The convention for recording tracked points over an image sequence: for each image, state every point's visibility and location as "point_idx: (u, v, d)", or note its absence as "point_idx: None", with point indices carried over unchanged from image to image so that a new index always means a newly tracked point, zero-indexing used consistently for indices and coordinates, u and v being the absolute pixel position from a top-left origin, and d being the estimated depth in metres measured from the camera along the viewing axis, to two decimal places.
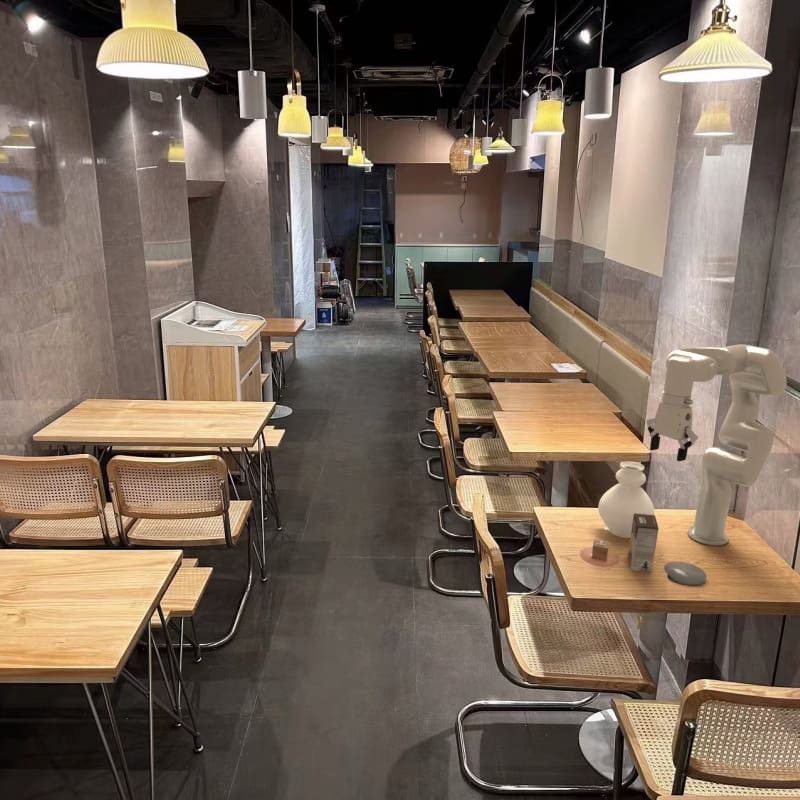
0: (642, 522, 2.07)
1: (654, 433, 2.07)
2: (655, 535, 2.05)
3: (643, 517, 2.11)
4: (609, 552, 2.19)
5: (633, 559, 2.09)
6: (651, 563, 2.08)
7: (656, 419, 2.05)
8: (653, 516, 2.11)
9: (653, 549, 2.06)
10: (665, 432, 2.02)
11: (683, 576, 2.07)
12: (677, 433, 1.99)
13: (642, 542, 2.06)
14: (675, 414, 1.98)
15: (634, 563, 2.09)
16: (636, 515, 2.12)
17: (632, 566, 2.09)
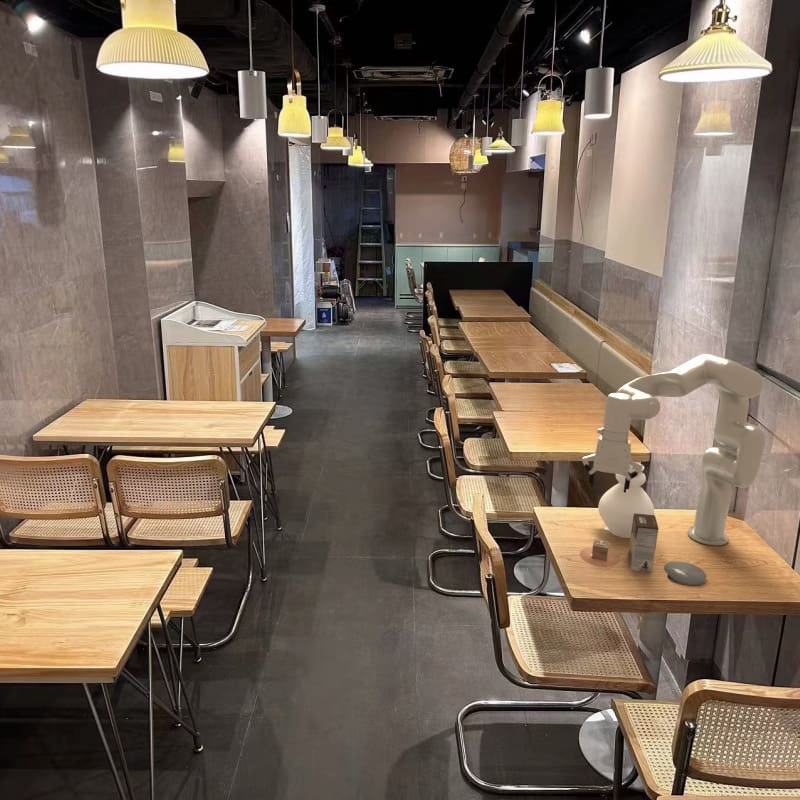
0: (642, 522, 2.07)
1: None
2: (655, 535, 2.05)
3: (643, 517, 2.11)
4: (609, 552, 2.19)
5: (633, 559, 2.09)
6: (651, 563, 2.08)
7: None
8: (653, 516, 2.11)
9: (653, 549, 2.06)
10: None
11: (683, 576, 2.07)
12: None
13: (642, 542, 2.06)
14: None
15: (634, 563, 2.09)
16: (636, 515, 2.12)
17: (632, 566, 2.09)
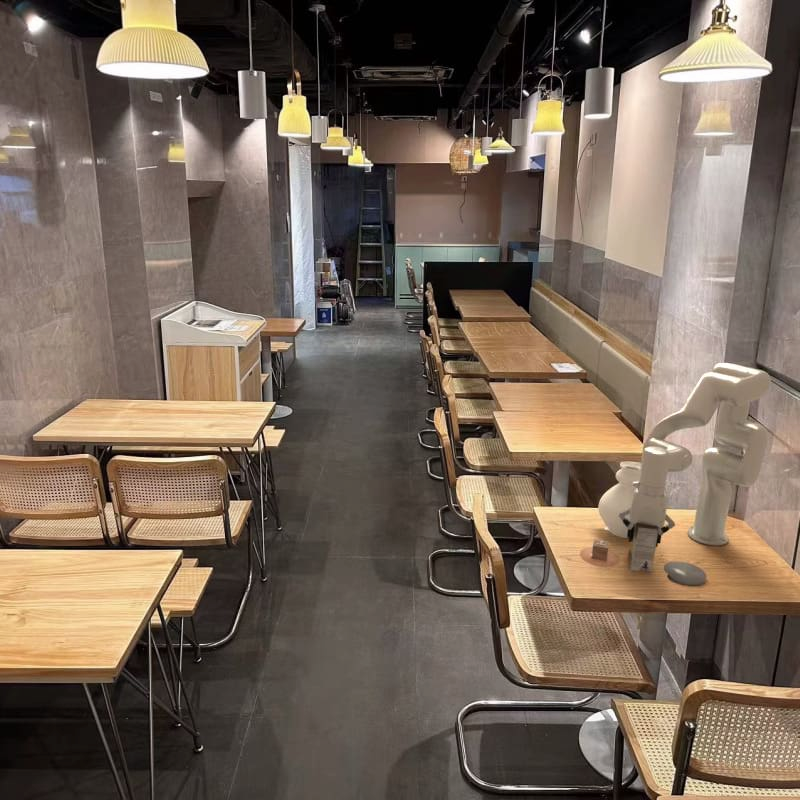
0: None
1: None
2: (655, 535, 2.05)
3: None
4: (609, 552, 2.19)
5: (633, 559, 2.09)
6: (651, 563, 2.08)
7: None
8: None
9: (653, 549, 2.06)
10: None
11: (683, 576, 2.07)
12: None
13: (642, 542, 2.06)
14: None
15: (634, 563, 2.09)
16: None
17: (632, 566, 2.09)
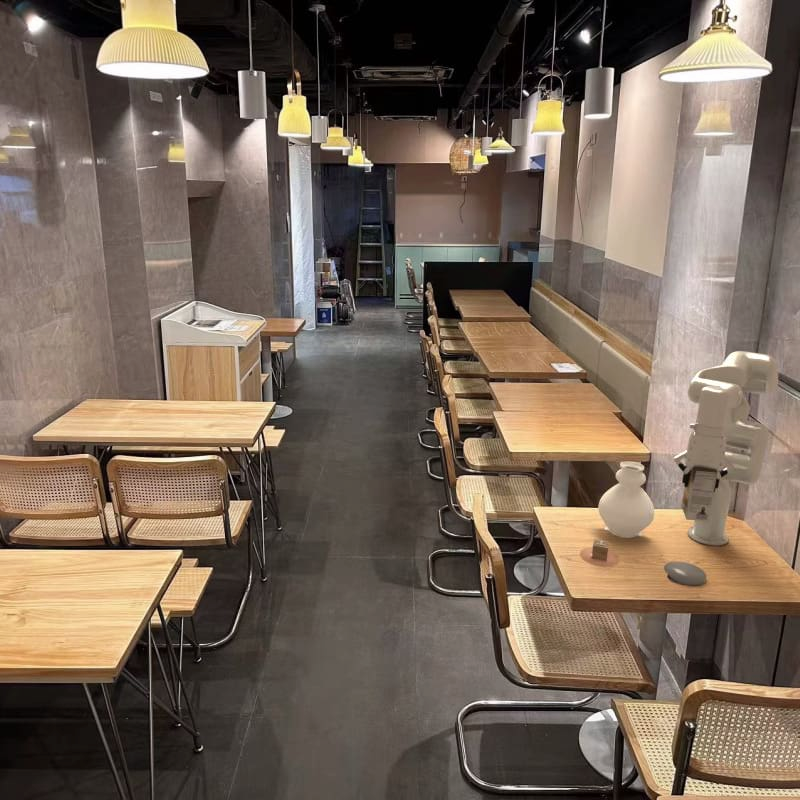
0: None
1: None
2: (714, 478, 1.96)
3: None
4: (609, 552, 2.19)
5: (690, 504, 2.00)
6: (709, 508, 1.99)
7: None
8: None
9: (711, 493, 1.97)
10: None
11: (683, 576, 2.07)
12: None
13: (700, 487, 1.97)
14: None
15: (691, 509, 2.00)
16: None
17: (688, 512, 2.00)
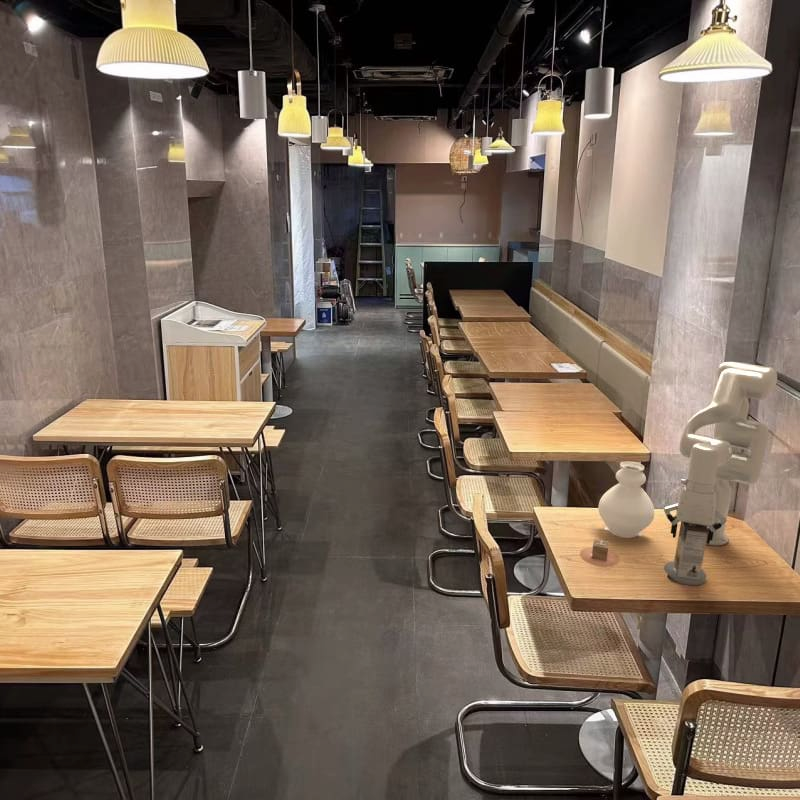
0: (691, 525, 2.04)
1: None
2: (705, 538, 2.01)
3: None
4: (609, 552, 2.19)
5: (681, 562, 2.05)
6: (700, 567, 2.04)
7: None
8: None
9: (702, 553, 2.03)
10: None
11: None
12: None
13: (691, 546, 2.03)
14: None
15: (682, 567, 2.05)
16: None
17: (680, 570, 2.06)
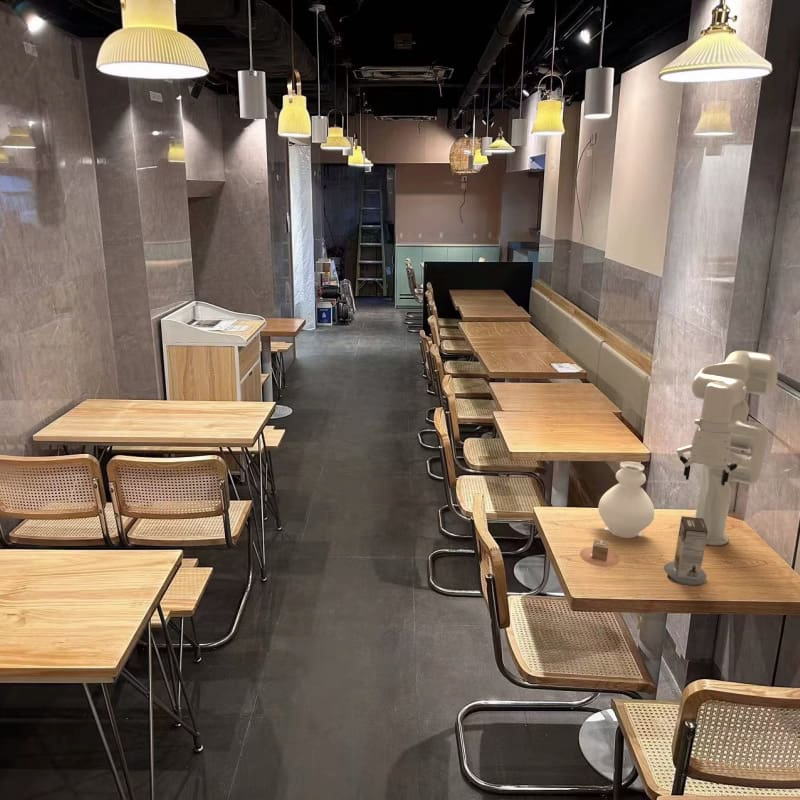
0: (691, 525, 2.04)
1: None
2: (704, 539, 2.01)
3: (691, 520, 2.07)
4: (609, 552, 2.19)
5: (681, 563, 2.05)
6: (699, 567, 2.04)
7: None
8: (702, 520, 2.08)
9: (702, 553, 2.03)
10: None
11: None
12: None
13: (691, 546, 2.03)
14: None
15: (682, 567, 2.05)
16: (684, 518, 2.08)
17: (680, 570, 2.06)
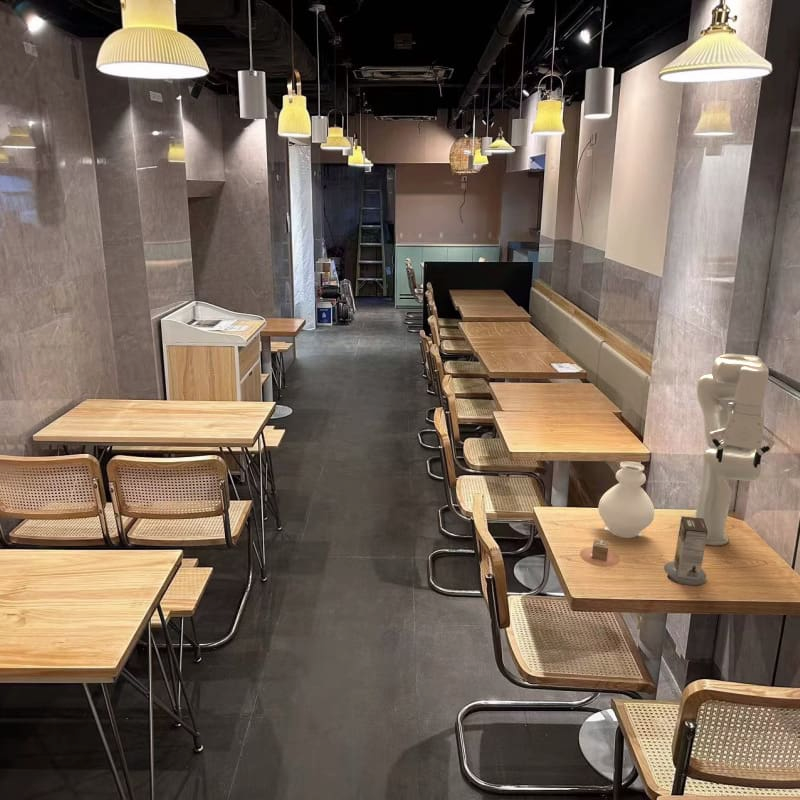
0: (691, 525, 2.04)
1: None
2: (704, 539, 2.01)
3: (691, 520, 2.07)
4: (609, 552, 2.19)
5: (681, 563, 2.05)
6: (699, 567, 2.04)
7: None
8: (702, 520, 2.08)
9: (702, 553, 2.03)
10: None
11: None
12: None
13: (691, 546, 2.03)
14: None
15: (682, 567, 2.05)
16: (684, 518, 2.08)
17: (680, 570, 2.06)
